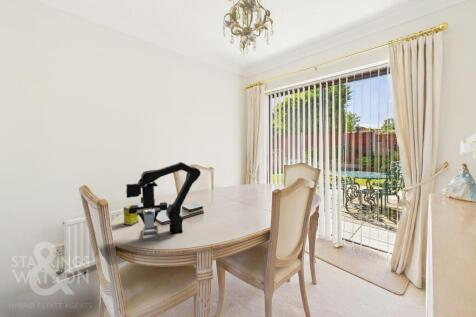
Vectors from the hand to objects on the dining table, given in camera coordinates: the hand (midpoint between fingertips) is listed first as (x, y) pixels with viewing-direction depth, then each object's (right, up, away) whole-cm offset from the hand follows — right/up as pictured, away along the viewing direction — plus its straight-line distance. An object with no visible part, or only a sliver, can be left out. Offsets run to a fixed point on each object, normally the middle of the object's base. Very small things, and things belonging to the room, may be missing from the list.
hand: (149, 223), depth 113 cm
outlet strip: (-1, -7, +4) cm, 9 cm away
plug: (0, -2, 0) cm, 2 cm away
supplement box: (-19, -6, +18) cm, 27 cm away
